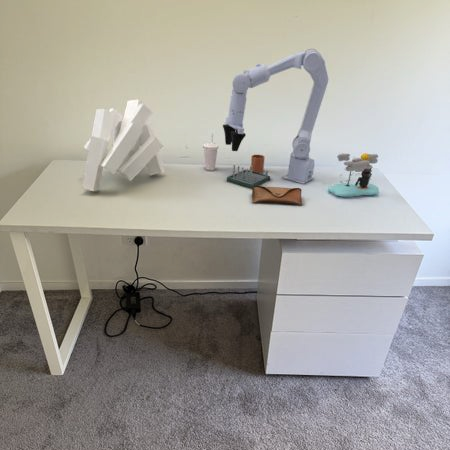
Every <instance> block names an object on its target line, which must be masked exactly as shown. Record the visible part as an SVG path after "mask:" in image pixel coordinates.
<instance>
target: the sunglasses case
mask: <svg viewBox="0 0 450 450" xmlns="http://www.w3.org/2000/svg"><path fill="white" fill-rule="evenodd" d="M251 190H252V191H251V201H252V203H254V204H274V205H284V206H285V205H286V206H302V205H303V201H302V188H300V187H281V186H264V185H259V186H254V187H253V189H251Z"/></svg>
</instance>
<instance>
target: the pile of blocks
mask: <svg viewBox="0 0 450 450" xmlns="http://www.w3.org/2000/svg"><path fill="white" fill-rule="evenodd" d="M153 114H154V113H153V111H152V110H151V109H150V108H149V107H147V106H146V105H145V104H144V103H143V102H142V101H141V100H140V98H139V99H131V100H127V103H126V106H125V110H124V114H123V115H122V114H120V112H119V111H117V110H116V109H115V108H113V107H111V108H110V109H106V108H96V109H95V114H94V120H93V124H92V125H93V126H92V131H91V135H90V137H89V139H88V141H87V142H86V143H85V145H84V146H83V149H84V150H86V151H87V156H86V162H85V167H84V172H83V173H84V174H83V179H82V184H81V189H84V190H87V191H91V192H99V189H100V185H101V180H102V173H103V169H105V170H106V171H107V172H108V173H110V174H112V175H115V174H116V173H121V175H122V176H123V177H124V179H126V180H128V181H132V180H133V179H134V178H135V177H136V176H137V175H138V174H139V173H140V172H141V171H142V169H144V167H145V166H146V168H147V172H148V175H149V176H154V175H158V174H161V173H165V172H166V169H165V166H164V164H163V160H162V157H161V153H160V150H161V149H162V148H163V147H164V146H163V144H162V143H161V142H160V140H159V139H158V137H156V136H155V133H154V132H155V131H154V129H153V126H152V124H147V122H148V120H149V118H150V117H151V116H152V115H153ZM112 134H113V135H112ZM111 135H112V144H111V149H110V150H109V144H110V141H111ZM108 150H109V152H108Z"/></svg>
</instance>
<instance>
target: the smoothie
mask: <svg viewBox="0 0 450 450" xmlns="http://www.w3.org/2000/svg"><path fill="white" fill-rule="evenodd" d="M210 138H211V141H210V142H206V143H203V144H202V149H203V153H204V154H203V155H204V164H205V169H206V171H214V170H215V169H216V164H217V163H216V162H217V156H218V149H219V145H218V143H214V134H213V133H211V137H210Z"/></svg>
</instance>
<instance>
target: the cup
mask: <svg viewBox="0 0 450 450" xmlns="http://www.w3.org/2000/svg"><path fill="white" fill-rule="evenodd" d="M265 158H266V157H265V155H263V154H252V155H251V158H250V167H252V171H254V172H257V173H261V174H263V172H264V167H265Z"/></svg>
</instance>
